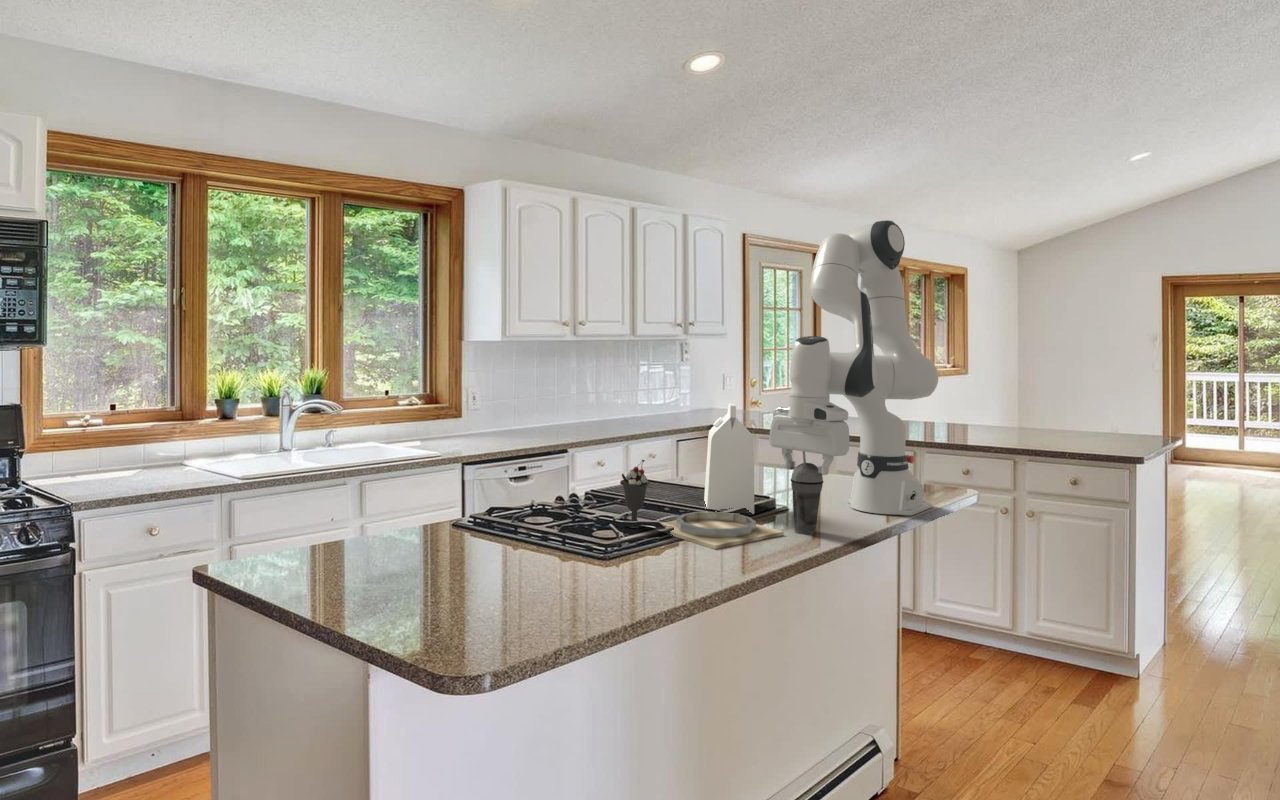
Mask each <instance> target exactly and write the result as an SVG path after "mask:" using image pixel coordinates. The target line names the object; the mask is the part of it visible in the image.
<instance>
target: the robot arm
mask: <svg viewBox="0 0 1280 800" xmlns="http://www.w3.org/2000/svg"><path fill="white" fill-rule="evenodd" d="M905 242H906V241H905V235H904V233H903V231H902V229H901V228H900V226H899V225H898V224H897V223H895V222H894V221H893V220H889V219H888V220H879V221H876V222H874V223H870V224H865V225H862V226H861V225H860V226H858V227H855V228H853V229H851V230H849V231H846V232H845V233H841V232H840V233H832V234H829V235H828V236H826V237H824V238H823V239H822V241H821V242H820V244H819V247H818V249H817V252H816V255H815V258H814V261H813V266H812V269H811V275H810V276H811V277H810V281H809V282H810V284H809V287H810V289H809V291H810V295H811V298H812V300H813V302H815V304H816V305H818V306H819V308H821V309H822V310H824V311H826V312H827V313H830V314H833V315H836V316H839V317H841V318H843V319H846V320H847V321H848V322H850V323H852V324H853V331H854V333H853V334H854V335H853V336H854V349H853V350H852V351H850V352H836V351H835V352H832V351H831V348H830V342H829V339H828V338H826V337H824V336H815V335H812V336H810V335H808V336H800V337H798V338H796V339H795V340H794V342H793V346H792V351H791V358H790V365H789V366H790V367H789V379H790V383H791V385H790V386H791V387H790V391H789V394H788V407H782V406H780V407H779V406H778V407H777V408H776V409H774V411H773V412H772V420H771V424H770V429H769V439H768V441H769V444H770V446H771V447H773V448H778V449H781V455H782V457H783V459H784V462H785V469H786V470H794V469H795V468H796V464H797V463H796V461H795V460H793V457H792V453H793V451H796V452H797V451H799V452H803V451H804V452H805V453H806V452H807V453H812V454H813V453H814V454H819V455H822V457H821V458H822V460H823V462H822V464H821V465H819V466H817V467H818V470H819V471H818V474H821V475H822V476H828V475H829V470H830V468H829V467H831V464H832V463H833V462H834V459H835V458H834V457H843V456H847V453H849V450H850V428H849V425H848V423H847V421H848V419H849V412H848V410H847V409H844V408H842V407H840V406H838V405H836V404H834V403H833V402H830V401H831V400H830V395H840V396H841V395H842V396H843V397H845V398H846V399H847V400H848V401H849V402H850V403H851V405H852V407H853V408H854V410H855V412H856V414H857V416H858V422H859V438H860V439H859V441H860V442H859V443H860V444H859V451H858V452H857V458H856V460H857V463H856V465H857V467H858V468H857V470H856V471H855V472H854V474H853V475H854V476H853V480H852V481H853V482H852V487H851V488H852V489H851V495H850V497H848V498H847V503H848V504H850V505H849V506H850V508H851V509H854V510H857V511H861V512H866V513H871V514H872V513H873V514H879V515H898V516H899V515H900V516H913V515H917V514H919V513H921V512H924V511H926V510H929V509H932V508H933V503H932V502H930V501H927V500H924V487H923V483H922V482H921V481H920V480H919V479H918V478H917V477H916V476H915V475H914V474H913V473H912V472H911V471H910V470H909V468H910V467H909V464H914V462H915V460H916V459H915V458H916V457H915V456H914V455H909V454H906V441H907V426H906V424H905V422H904V421H903V420H902V419H901V417H899V416H898V415H896V414H894V413H892V412H890V411H888V410H887V406H886V400H908V401H909V400H916V399H917V400H918V399H922V398H928V397H930V396H931V395H932V394H933V393H934V392H935V390H936V389H937V386H938V383H939V373H938V369H937V367H936V365H935V363H934V362H933V361H932V360H931V359H929V358H928V357H926V356H925V355H924V354H923V353H922V352H921V351H920V350H919V349H918V347H917V346H916V345H915V343H914V341H913V339H912V338H911V335H910V333H909V328H908V322H907V314H906V313H907V311H906V302H905V301H906V300H905V299H906V298H905V289H904V284H903V279H902V276H901V272H900V269H899V267H898V266H899V264H900V263H901V262H900V261H901V259H902V256H903V254H904V251H905V245H906V244H905ZM859 275H860V279H861V280H860V281H861V282H860V286H859V283H858V282H859ZM859 287H860V288H859ZM874 345H876V346H877V347H878V348H879V349H880V350H881V351H882V353H883V355H879V354H878V355H877V354H876V355H875V354H874V353H875V350H874Z"/></svg>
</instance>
